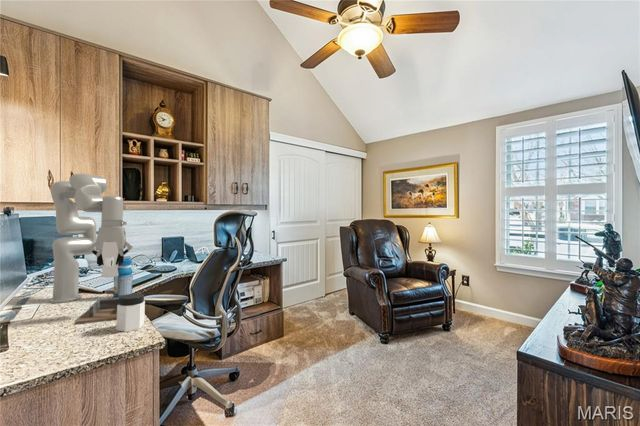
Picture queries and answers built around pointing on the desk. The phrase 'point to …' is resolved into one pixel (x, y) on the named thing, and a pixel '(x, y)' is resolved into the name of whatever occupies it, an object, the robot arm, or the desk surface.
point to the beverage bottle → (123, 279)
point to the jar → (130, 312)
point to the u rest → (100, 312)
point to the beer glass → (110, 259)
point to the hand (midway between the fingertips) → (110, 264)
